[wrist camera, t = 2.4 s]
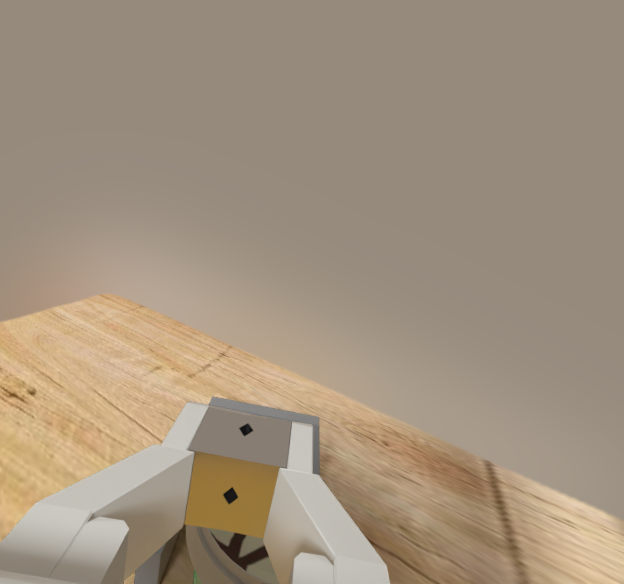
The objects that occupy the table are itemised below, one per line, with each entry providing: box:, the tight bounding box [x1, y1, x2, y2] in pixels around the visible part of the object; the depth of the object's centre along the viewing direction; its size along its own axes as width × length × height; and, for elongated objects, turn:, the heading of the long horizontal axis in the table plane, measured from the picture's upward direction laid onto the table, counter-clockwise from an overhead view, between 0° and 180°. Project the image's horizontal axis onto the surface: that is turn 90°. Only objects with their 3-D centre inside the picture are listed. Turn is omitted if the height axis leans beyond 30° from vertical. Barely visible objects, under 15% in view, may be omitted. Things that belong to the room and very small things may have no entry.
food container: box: [186, 525, 279, 584], centre depth 23 cm, size 12×6×10 cm, turn 11°
